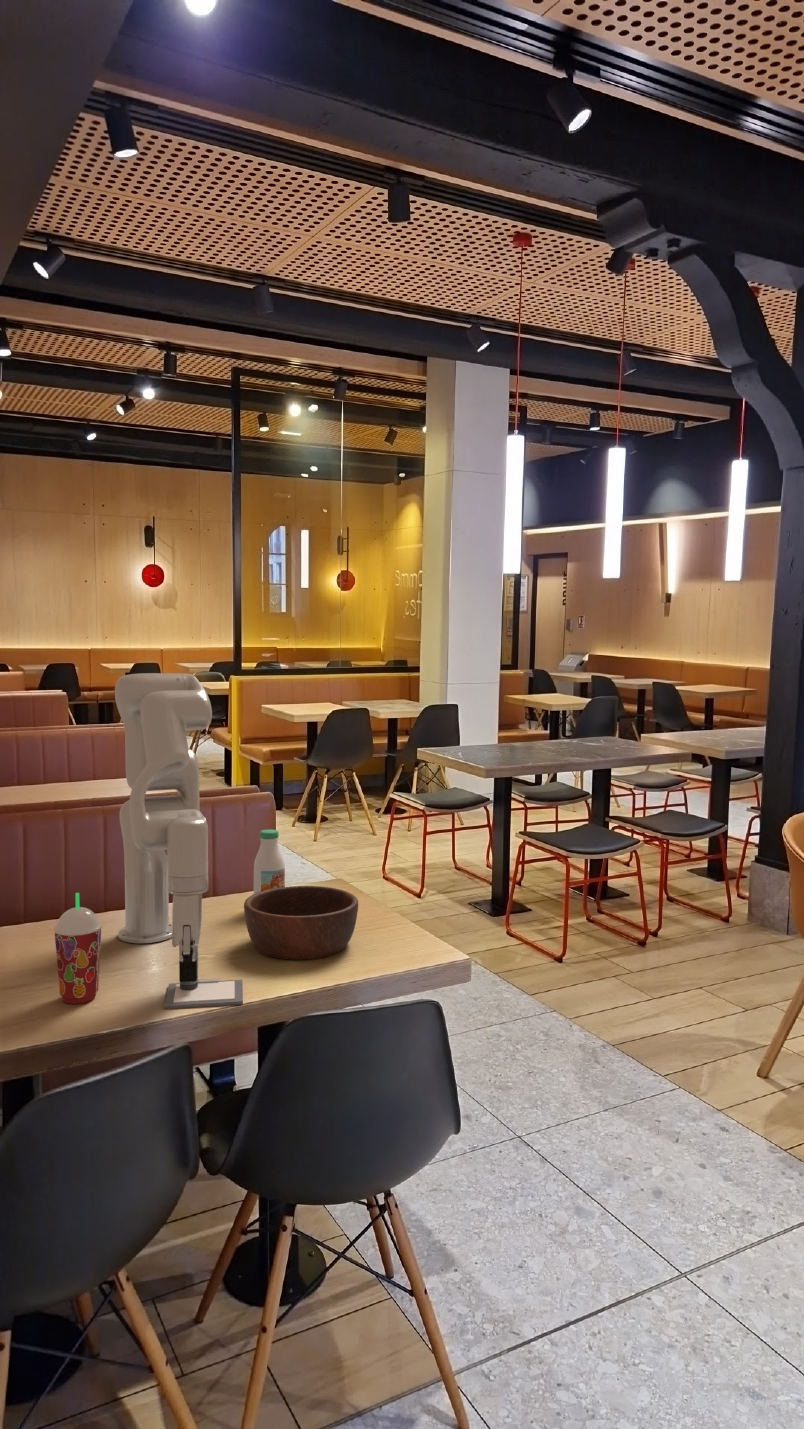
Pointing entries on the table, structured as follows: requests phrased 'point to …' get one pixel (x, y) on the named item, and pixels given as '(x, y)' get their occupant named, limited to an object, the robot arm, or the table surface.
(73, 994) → the smoothie
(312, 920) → the wooden bowl
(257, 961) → the table surface
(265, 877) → the milk bottle
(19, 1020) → the table surface
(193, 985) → the orange topped gray cylinder
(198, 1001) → the clipboard
